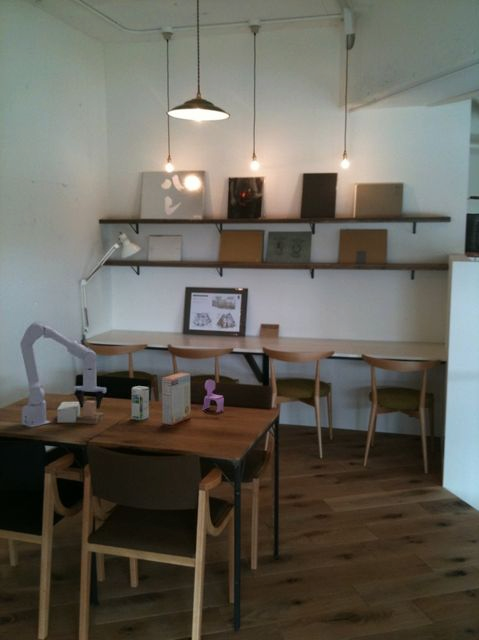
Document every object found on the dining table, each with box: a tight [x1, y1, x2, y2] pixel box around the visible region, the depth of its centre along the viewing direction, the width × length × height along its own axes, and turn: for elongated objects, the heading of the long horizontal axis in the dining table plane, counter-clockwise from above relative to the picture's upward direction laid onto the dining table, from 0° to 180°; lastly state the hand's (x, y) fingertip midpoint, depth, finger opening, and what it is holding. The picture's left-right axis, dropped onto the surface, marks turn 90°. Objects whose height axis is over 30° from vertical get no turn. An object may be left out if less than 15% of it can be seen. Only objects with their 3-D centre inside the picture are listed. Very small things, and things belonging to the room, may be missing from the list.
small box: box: [56, 401, 81, 424], centre depth 254 cm, size 8×6×13 cm
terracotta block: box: [82, 400, 97, 417], centre depth 251 cm, size 4×4×6 cm
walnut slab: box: [76, 412, 105, 425], centre depth 252 cm, size 9×9×3 cm
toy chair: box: [201, 379, 225, 413], centre depth 271 cm, size 8×9×15 cm
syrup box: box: [131, 385, 150, 421], centre depth 256 cm, size 6×6×14 cm
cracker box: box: [161, 372, 191, 426], centre depth 253 cm, size 14×6×21 cm, turn 149°
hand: (90, 407), depth 252 cm, fingers open, 7 cm apart
